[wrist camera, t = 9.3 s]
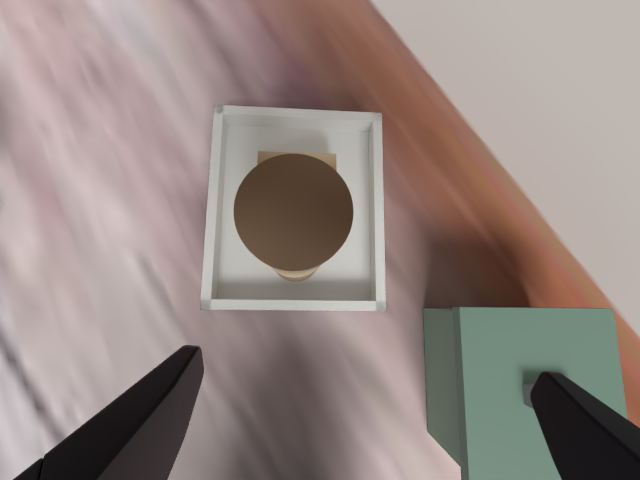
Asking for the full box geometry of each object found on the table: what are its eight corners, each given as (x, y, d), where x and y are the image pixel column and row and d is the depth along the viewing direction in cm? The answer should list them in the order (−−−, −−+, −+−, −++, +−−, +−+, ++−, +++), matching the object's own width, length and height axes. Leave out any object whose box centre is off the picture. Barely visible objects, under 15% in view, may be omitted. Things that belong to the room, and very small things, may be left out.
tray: (376, 308, 22) (385, 311, 20) (210, 307, 22) (200, 309, 19) (373, 131, 25) (381, 112, 22) (222, 124, 24) (214, 104, 21)
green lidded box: (423, 436, 21) (478, 500, 15) (418, 303, 23) (467, 308, 16) (547, 434, 22) (653, 494, 15) (535, 304, 23) (627, 309, 17)
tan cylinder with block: (333, 283, 22) (382, 270, 9) (256, 282, 21) (200, 268, 9) (333, 165, 23) (376, 15, 10) (261, 163, 22) (217, 4, 10)
